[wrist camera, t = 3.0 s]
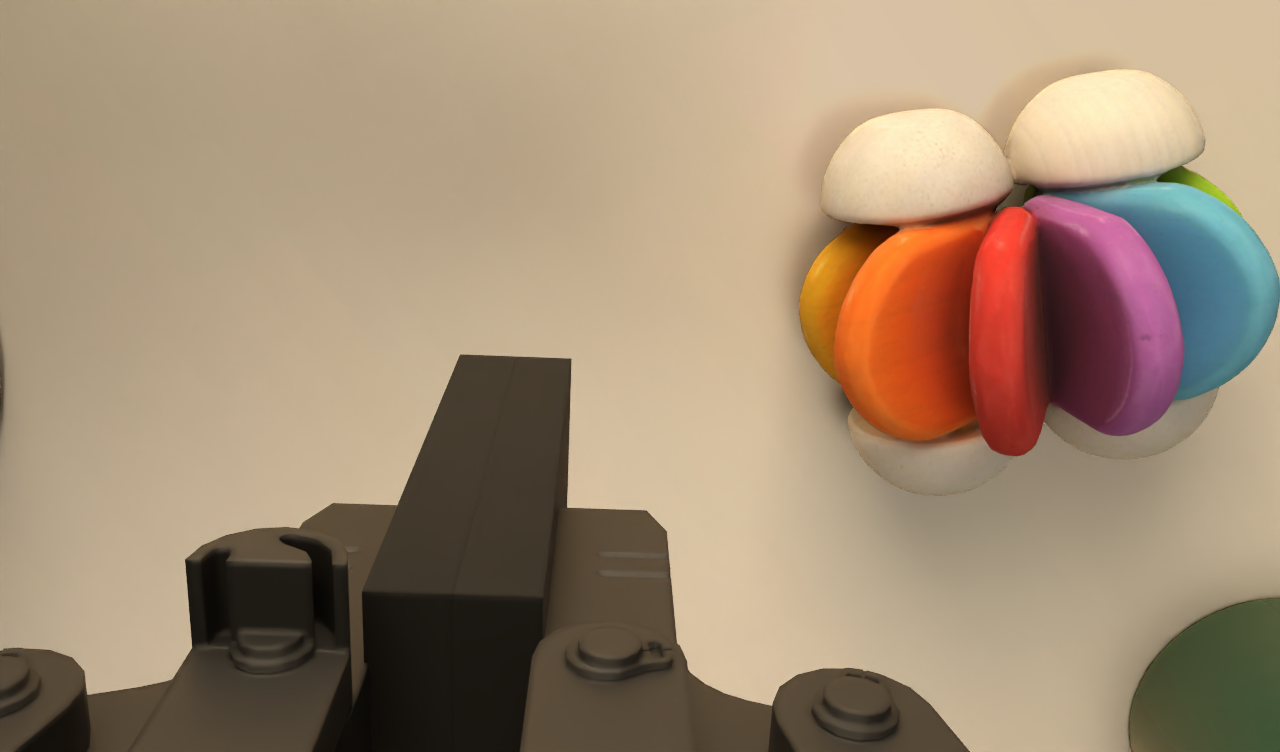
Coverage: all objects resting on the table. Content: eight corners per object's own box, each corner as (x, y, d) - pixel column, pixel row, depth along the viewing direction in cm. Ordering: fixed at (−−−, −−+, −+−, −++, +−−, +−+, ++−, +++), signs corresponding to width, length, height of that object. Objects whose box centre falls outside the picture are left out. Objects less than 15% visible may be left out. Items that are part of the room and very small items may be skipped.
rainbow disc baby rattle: (761, 129, 27) (813, 182, 20) (1187, 44, 27) (1387, 68, 20) (815, 467, 30) (877, 614, 23) (1203, 394, 29) (1383, 521, 23)
